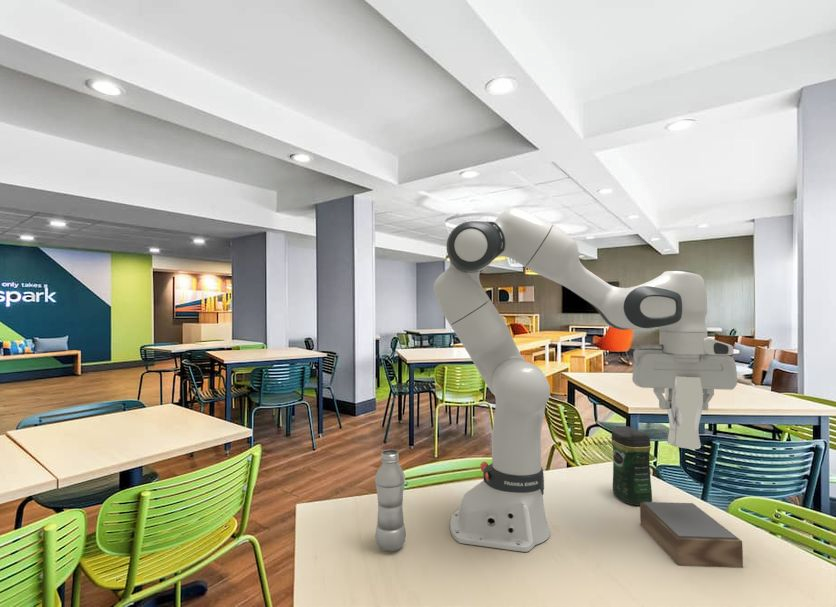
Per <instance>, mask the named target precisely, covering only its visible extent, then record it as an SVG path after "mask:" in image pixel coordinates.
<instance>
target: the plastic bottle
mask: <svg viewBox="0 0 836 607" xmlns="http://www.w3.org/2000/svg"><path fill="white" fill-rule="evenodd" d="M399 461H400V459H399V451H398V450H396V449H385V450H382V451H381V458H380V462H381V463H382V464H381V465H380V466H379V468H378V470H377V471H376V474H375V478H374V479H375V480H374V481H375V488H376V495H377V509H378V510H377V522H376V529H375V536H374V537H375V541H376V545H377V547H378V548H379V549H380V550H381V551H384V552H394V551H398V550H400V549H402V547H403V545H404V544H405V542H406V537H407V536H406V535H407V533H406V532H407V531H406V526H405V522H404V520H405V519H404V509H403V507H404V506H403V504H404V503H403V501H404V491H405V490H404V489H405V481H406V479H405V478H406V475H405V473H404V470H403V469H402V467H401V465H400V464H399Z"/></svg>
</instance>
